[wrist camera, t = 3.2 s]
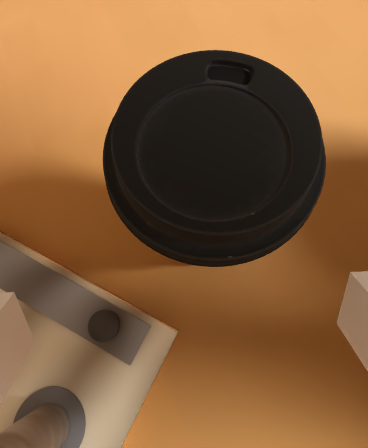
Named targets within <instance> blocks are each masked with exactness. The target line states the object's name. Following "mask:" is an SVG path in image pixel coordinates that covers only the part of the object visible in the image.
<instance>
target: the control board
mask: <svg viewBox="0 0 368 448" xmlns="http://www.w3.org/2000/svg"><path fill="white" fill-rule="evenodd" d="M6 292H14V293H15V295H16V297H17V300H18V302H19V304H20V307H21V309H22V312H23V314H24V316H25V319H26V321H27V323H28V326H29V328H30V330H31V333H32V335H33V337H34V340H35V342H34V344H33V346H32V348H31V350H30V352H29V353H28V355H27V357H26V359H25V361H24V363H23V365H22V367H21V369H20V371H19V373H18V374H17V376H16V378H15V380H14V382H13V384H12V386H11V388H10V390H9V392H8V393H7V395H6V397H5V399H4V401H3V403H2V405H1V407H0V448H121V446H122V444H123V442H124V440H125V438H126V436H127V434H128V432H129V430H130V428H131V426H132V424H133V422H134V420H135V418H136V416H137V414H138V412H139V410H140V408H141V406H142V404H143V402H144V400H145V398H146V396H147V394H148V392H149V390H150V388H151V386H152V383H153V381H154V379H155V377H156V375H157V373H158V371H159V369H160V367H161V365H162V363H163V361H164V359H165V357H166V355H167V353H168V351H169V349H170V347H171V345H172V343H173V341H174V339H175V337H176V335H177V333H178V330H176V329H174V328H172V327H170V326H169V325H167V324H165V323H163V322H161V321H160V320H158V319H156V318H154V317H152V316H151V315H149V314H147V313H145V312H143V311H142V310H140V309H138V308H136V307H135V306H133V305H131V304H129V303H127V302H126V301H124V300H122V299H120V298H118V297H117V296H115V295H113V294H111V293H109V292H108V291H106V290H104V289H102V288H100V287H99V286H97V285H95V284H93V283H92V282H90V281H88V280H86V279H84V278H83V277H81V276H79V275H77V274H75V273H74V272H72V271H70V270H68V269H66V268H65V267H63V266H61V265H59V264H57V263H56V262H54V261H52V260H50V259H49V258H47V257H45V256H43V255H41V254H40V253H38V252H36V251H34V250H32V249H31V248H29V247H27V246H25V245H23V244H22V243H20V242H18V241H16V240H14V239H13V238H11V237H9V236H7V235H5V234H4V233H2V232H0V293H6Z"/></svg>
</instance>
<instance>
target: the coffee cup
mask: <svg viewBox="0 0 368 448" xmlns="http://www.w3.org/2000/svg"><path fill="white" fill-rule="evenodd" d="M325 169H326V157H325V148H324V143H323V139H322V133H321V127H320V123H319V120H318V117H317V114H316V112H315V109H314V107H313V105H312V103H311V102H310V100H309V98H308V97H307V95H306V94H305V93H304V91H303V90H302V89H301V88H300V86H299V85H298V84H297V83H296V82H295V81H294V80H293V79H291V78H290V77H289V76H288V75H287V74H285V73H284V72H283V71H281V70H280V69H278V68H277V67H275V66H273V65H271V64H270V63H268V62H266V61H263V60H261V59H259V58H256V57H253V56H250V55H246V54H243V53H238V52H232V51H222V50H207V51H198V52H192V53H187V54H183V55H180V56H177V57H174V58H172V59H169V60H167V61H165V62H163V63H161V64H159V65H157V66H155V67H154V68H152V69H151V70H149V71H148V72H147V73H145V74H144V75H143V76H142V77H141V78H139V79H138V80H137V81H136V82H135V83H134V84H133V86H132V87H131V88H130V89H129V91H128V92H127V93H126V95H125V96H124V98H123V100H122V101H121V103H120V105H119V108H118V110H117V112H116V114H115V116H114V117H113V119H112V122H111V124H110V126H109V129H108V132H107V134H106V138H105V143H104V150H103V170H104V176H105V181H106V186H107V190H108V194H109V197H110V199H111V202H112V204H113V206H114V208H115V210H116V212H117V214H118V216H119V217H120V219H121V220H122V222H123V223H124V224H125V225H126V227H127V228H128V229H129V230H130V231H131V232H132V233H133V234H134V235H135V236H136V237H137V238H138V239H139V240H140V241H141V242H143V243H144V244H146V245H147V246H148V247H150V248H151V249H153V250H155V251H156V252H158V253H160V254H162V255H164V256H166V257H168V258H171V259H174V260H177V261H180V262H183V263H187V264H192V265H198V266H208V267H223V266H232V265H238V264H243V263H246V262H250V261H253V260H256V259H258V258H261V257H263V256H265V255H267V254H269V253H271V252H273V251H274V250H276V249H278V248H279V247H281V246H282V245H283V244H285V243H286V242H287V241H288V240H289V239H291V238H292V237H293V236H294V235H295V234H296V233H297V232H298V230H299V229H300V228H301V227H302V226H303V224H304V223H305V221H306V220H307V219H308V217H309V215H310V213H311V211H312V210H313V208H314V206H315V204H316V202H317V200H318V198H319V196H320V193H321V190H322V187H323V182H324V177H325Z"/></svg>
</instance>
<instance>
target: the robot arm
mask: <svg viewBox="0 0 368 448" xmlns="http://www.w3.org/2000/svg"><path fill="white" fill-rule="evenodd" d="M337 325H338V327H339V328H340V330H341V331H342V333H343V334H344V336H345V337H346V339H347V340H348V342H349V344H350V345H351V347H352V348H353V350H354V351H355V353H356V354H357V356H358V358H359V359H360V361H361V362H362V364H363V365H364V367H365V368H366V370H367V371H368V271H361V272H350V275H349V278H348V282H347V286H346V289H345V293H344V297H343V300H342V304H341V308H340V311H339V315H338V319H337ZM34 342H35V340H34V337H33V335H32V333H31V330H30V328H29V326H28V323H27V321H26V319H25V316H24V314H23V312H22V309H21V307H20V304H19V302H18V300H17V297H16V295H15V293H14V292H6V293H0V407H1V405H2V403H3V401H4V399H5V397H6V395H7V393H8V392H9V390H10V388H11V386H12V384H13V382H14V380H15V378H16V376H17V374H18V373H19V371H20V369H21V367H22V365H23V363H24V361H25V359H26V357H27V355H28V353H29V352H30V350H31V348H32V346H33V344H34Z"/></svg>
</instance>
